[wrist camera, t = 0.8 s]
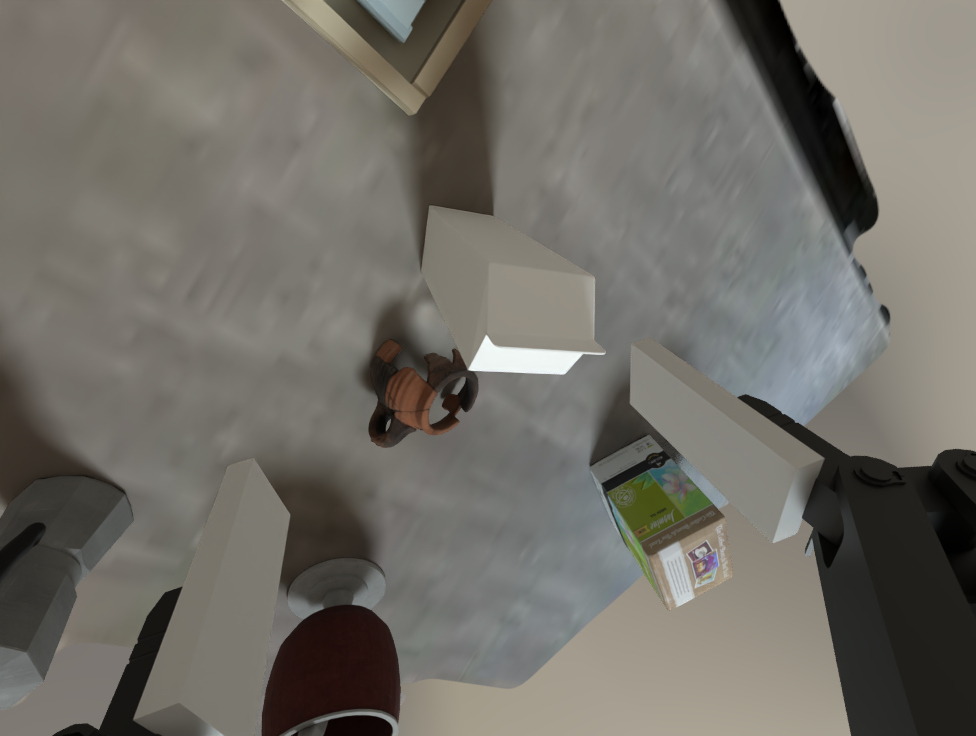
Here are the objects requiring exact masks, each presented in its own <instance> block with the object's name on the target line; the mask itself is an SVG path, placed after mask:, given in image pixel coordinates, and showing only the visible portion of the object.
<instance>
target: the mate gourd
mask: <svg viewBox="0 0 976 736" xmlns="http://www.w3.org/2000/svg"><path fill="white" fill-rule="evenodd" d="M385 588H386V581H385V575H384V573H383V571H382V570H381V569H380V568H379V567H378V566H377V565H375V564H373V563H371V562H369V561H366V560H362V559H357V558H339V559H333V560H328V561H325V562H322V563H319V564H316V565H314V566H312V567H310V568H308V569H307V570H305V571H304V572H302V573H301V574H300V575H299V576H298V577H297V578H296V579H295V580H294V581H293V583H292V584H291V586H290V589H289V591H288V605H289V608H290V609H291V611H292V612H293V613H294V614H295V615H297V616H298V617H300V618H302V619H304V620H303V621H302V622H301V623H300V624H299V625H298V626H297V627H296V628H295V629H294V630H293V631H292V632H291V634H290V635H289V636H288V637H287V638H286V639H285V641H284V642H283V643H282V645H281V647H280V649H279V652H278V654H277V657H276V659H275V662H274V664H273V667H272V671H271V674H270V677H269V681H268V684H267V688H266V693H265V700H264V706H263V712H262V736H397V734H398V731H399V729H398V720H399V711H400V693H401V687H400V675H399V664H398V657H397V653H396V648H395V644H394V640H393V637H392V635H391V632H390V629H389V628H388V626H387V625H386V624H385V623H384V622H383V621H382V620H381V619H380V618H379V617H378V616H377V615H376V614H375V613H374V612H373V611H372V610H370V609H371V608H373V607H374V606H375V605H376V604H377V603H378V602H379V601H380V599H381V598H382V597H383V594H384V592H385Z"/></svg>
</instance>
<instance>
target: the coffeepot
mask: <svg viewBox="0 0 976 736" xmlns="http://www.w3.org/2000/svg"><path fill="white" fill-rule="evenodd" d="M133 521H134V519H133V514H132V509H131V504H130V502H129V500H128V499H127V498H126V495H125V494H124V493H123V492H121V491H120V490H118V489H117V488H115V487H113V486H111V485H109V484H108V483H105V482H102V481H100V480H97V479H92V478H88V477H84V476H57V477H51V478H47V479H37V480H35V481H34V482H33V483H32V484H31V485H29V486H28V487H27V488H26V489H25V490H24V491H23V492H21V493H20V494H19V495H18V496H17V497H16V498H15V499H13V500H12V501H11V502H10V503H9V505H8V506H7V508H6V510H5V511H4V513H3V515H2V516H1V518H0V710H3V709H8V708H11V707H12V706H13V705H15V704H16V703H17V702H18V701H20V700H21V699H22V698H23V697H25V696H26V695H27V694H28V693H29V692H31V691H32V690H33V689H34V688H36V687H37V686H38V685H39V684H41V683H42V682H43V681H44V679H45V676H46V674H47V671H48V669H49V666H50V663H51V661H52V659H53V656H54V654H55V651H56V648H57V646H58V643H59V641H60V638H61V636H62V633H63V631H64V628H65V626H66V623H67V621H68V618H69V616H70V613H71V610H72V608H73V605H74V603H75V600H76V598H77V595H76V591H75V588H76V586H77V584H78V583H79V582H80V581H81V580H82V579H83V578H84V577H85V576H86V575H87V574H88V573H89V572H90V571H91V570H92V569H93V567H94V566H95V565H96V564H97V563H98V562H99V560H100V559H101V558H102V557H103V556H104V555H105V553H106V552H107V551H108V550H109V549H110V548H111V546H112V545H113V544H114V543H115V542H116V541H117V539H118V538H119V537H120V536H121V535H122V534H123V532H124V531H125V530H126V529H127V528H128V527H129V525H130V524H131V523H132V522H133Z"/></svg>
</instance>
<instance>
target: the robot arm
mask: <svg viewBox="0 0 976 736" xmlns="http://www.w3.org/2000/svg"><path fill="white" fill-rule="evenodd" d="M630 404H631V405H632V406H633V407H634V408H635V409H636V410H637V411H638V412H639V413H640V414H641V415H642V416H643V417H644V418H645V419H646V420H647V421H648V422H649V423H650V424H651V425H652V426H653V427H654V428H655V429H656V430H657V431H658V432H659V433H660V434H661V435H662V436H663V437H664V438H665V439H666V440H667V441H668V442H669V443H670V444H671V445H672V446H673V447H674V448H675V449H676V450H677V451H678V452H679V453H680V454H682V455H683V456H684V457H685V458H686V459H687V460H688V461H689V462H690V463H691V464H692V465H693V466H694V467H695V468H696V469H697V470H698V471H699V472H700V473H701V474H702V475H703V476H704V477H705V478H706V479H707V480H708V481H709V482H710V483H711V484H712V485H713V486H714V487H715V488H716V489H717V490H718V491H719V492H720V493H721V494H722V495H723V496H724V497H725V498H726V499H727V500H728V501H729V502H730V503H731V504H732V505H733V506H734V507H735V508H737V509H738V510H739V511H740V512H741V513H742V514H743V515H744V516H745V517H746V518H747V519H748V520H749V521H750V522H751V523H752V524H753V525H754V526H755V527H756V528H757V529H758V530H759V531H760V532H761V533H762V534H763V535H764V536H765V537H766V538H767V539H768V540H769V541H770V542H771V543H772V544H773V543H775V542H777V541H780V540H782V539H785V538H787V537H790V536H792V535H795V534H797V532H798V529H799V527H800V524H801V521H802V518H803V519H804V520H805V521H806V522H807V523H809V524H810V525H811V526H812V527H813V531H812V534H811V536H810V538H809V541H808V543H807V546H806V548H805V556H810V555H811V553H812V551H813V548H814V551H815V556H816V561H817V566H818V571H819V576H820V581H821V586H822V591H823V596H824V601H825V606H826V611H827V616H828V621H829V626H830V631H831V636H832V641H833V646H834V652H835V656H836V662H837V667H838V672H839V677H840V682H841V687H842V692H843V696H844V702H845V707H846V712H847V717H848V722H849V726H850V732H851V736H976V452H975V451H971V450H961V449H953V450H945V451H943V452H941V453H940V454H938V456H937V458H936V459H935V461H934V463H933V465H932V466H921V467H905V468H897V467H896V466H894V465H892V464H890V463H887V462H885V461H883V460H881V459H877V458H873V457H868V456H851V457H850V456H848V455H847V454H845V453H843V452H842V451H840V450H839V449H837V448H836V447H834V446H833V445H831V444H830V443H828V442H827V441H825V440H824V439H822V438H820V437H819V436H817V435H816V434H814V433H813V432H811V431H810V430H808V429H807V428H805V427H804V426H802V425H801V424H799V423H795V421H794V420H793V419H791V418H790V417H788V416H787V415H785V414H782V413H781V411H779V410H778V409H776V408H775V407H773V406H772V405H770V404H769V403H767V402H765V401H763V400H760V399H757V398H754V397H752V396H749V395H746V394H745V395H742V396H739V397H735V396H734V395H732V394H731V393H730V392H728V391H727V390H725V389H724V388H722V387H721V386H719V385H718V384H717V383H715V382H714V381H712V380H711V379H709V378H708V377H706V376H705V375H704V374H702V373H701V372H699V371H698V370H696V369H695V368H693V367H692V366H691V365H689V364H688V363H686V362H685V361H683V360H682V359H680V358H679V357H678V356H676V355H675V354H673V353H672V352H670V351H669V350H667V349H666V348H665V347H663V346H662V345H660V344H659V343H657V342H656V341H654V340H653V339H652V338H647V339H644V340H640V341H637V342H634V343H631V375H630ZM289 520H290V513H289V512H288V510H287V509H286V507H285V506H284V504H283V503H282V501H281V499H280V498H279V496H278V495H277V493H276V492H275V490H274V489H273V487H272V485H271V484H270V482H269V481H268V479H267V478H266V476H265V475H264V473H263V471H262V470H261V468H260V467H259V465H258V464H257V462H256V461H255V459H254V458H251V459H248V460H244V461H241V462H238V463H235V464H231V465H228V467H227V470H226V472H225V475H224V478H223V481H222V483H221V486H220V489H219V491H218V494H217V497H216V499H215V502H214V505H213V507H212V510H211V513H210V515H209V518H208V521H207V523H206V526H205V529H204V531H203V534H202V537H201V539H200V542H199V545H198V547H197V550H196V553H195V555H194V558H193V561H192V563H191V566H190V569H189V571H188V574H187V577H186V579H185V582H184V585H183V587H180V588H177V589H174V590H171V591H168V592H165V593H164V595H163V596H162V597H161V599H160V600H159V601H158V603H157V604H156V605H155V607H154V608H153V609H152V611H151V612H150V613H149V615H148V616H147V618H146V621H145V623H144V625H143V628H142V630H141V632H140V635H139V637H138V639H137V640H138V644H135V646H134V649H133V651H132V654H131V656H130V658H129V660H130V663H129V664H127V666H126V668H125V670H124V672H123V675H122V677H121V679H120V682H119V685H118V687H117V689H116V691H115V694H114V696H113V698H112V701H111V703H110V705H109V708H108V710H107V712H106V715H105V717H104V720H103V722H102V724H101V727H100V729H99V730H98V729H96V728H94V727H93V726H91V725H89V724H74V725H72V726H69V727H67V728H65V729H63V730H61V731H59V732H57V733H56V734H54V735H53V736H254V735H255V729H256V723H257V717H258V711H259V704H260V698H261V692H262V686H263V680H264V674H265V667H266V662H267V655H268V649H269V643H270V637H271V631H272V625H273V619H274V612H275V606H276V600H277V594H278V588H279V582H280V576H281V570H282V563H283V557H284V551H285V545H286V539H287V533H288V527H289Z"/></svg>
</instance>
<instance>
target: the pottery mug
mask: <svg viewBox="0 0 976 736" xmlns="http://www.w3.org/2000/svg"><path fill="white" fill-rule="evenodd" d="M401 349H402V348H401V346H400V345H399V344H397V343H395V342H394V341H393V340H391V339H390V340H388V341H387V342H386V343H384V344H383V346H382V347H381V348H380V349H379V351H378V352H377V354H376V356H375V357H374V359H373V362H372V364H371V370H370V377H371V380H372V383H373V385H374V388H375V391H376V395H377V397H378V403H377V407H376V409H375V411H374V413H373V415H372V417H371V419H370V422H369V429H368V430H369V435H370V437H371V441H372V442H374V443H375V444H376V445H377V446H381V447H383V448H388V447H392V446H394V445H396V444H398V443H399V442H400V441H401V440H402V439H403V438H404V437H406V436H407V435H408V434H410V433H412V432H415V431H416V429H420V430H424V431H425V432H426V433H427V434H429V435H440V434H443V433H445V432H448V431H449V430H451V429H452V428H454V427H455V426H456V425H457V424H458V423H459V420H458V419H457V418H456V417H455V415H456V414H457V413H458V412H459V411H460V409H461V408H462V409H463V410H464V411H465V412H468V411H469V410H470V409H471V408H472V406H473V404H474V402H475V399H476V397H477V393H478V378H477V376H476V374H475V373H474V372H473V371H470V370H468V369H467V367H466V365H465V363H464V360H463V358H462V356H461V354H460V353H459V352H458V351H457V350H456V349H453V350H452V352H453V364H452V362H451V361H450V360H449V359H447V358H446V357H442V356H439V355H438V354H436V353H430V354H427V355H425V356H424V359H425V361H426V362H427V363H428V377H427V382H426V381H425V380H424V379H423V378H421V377H420V376H419V375H418V374H417V372H416V371H415V370H414V369H413V368H410V367H404V368H402V369H401V370H398V369H396V368H394V367H392V366H391V365H390V363H391V361H392V360H393V358H394V357H395V356H396V355H397V354H398V353H399V352H400V351H401ZM459 377H466V381H465V384H464V386H463V388H462V389H461V390H460V392H459V393H458V395H455V394H447V396H446V397H445V399H444V401H443V404H442V407H443V408H444V409H445V410H448V411H449V412H450V413H449V414H448V415H447V416H446V417H444V418H443V419H442V420H440V421H438V422H437V423H434V424H432V425H430V424H429V420H428V415H429V409H430V407H431V405H432V403H433V401H434V399H435V397H436V396H437V394H438V392H439V391H440V390H441V389H443V387H445V386H446V385H447V384H448V383H449V382H451V381H453V380H454V379H457V378H459ZM390 419H391V424H390V427H389V428H388V430H387V431H386V424H387V422H388V420H390Z"/></svg>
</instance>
